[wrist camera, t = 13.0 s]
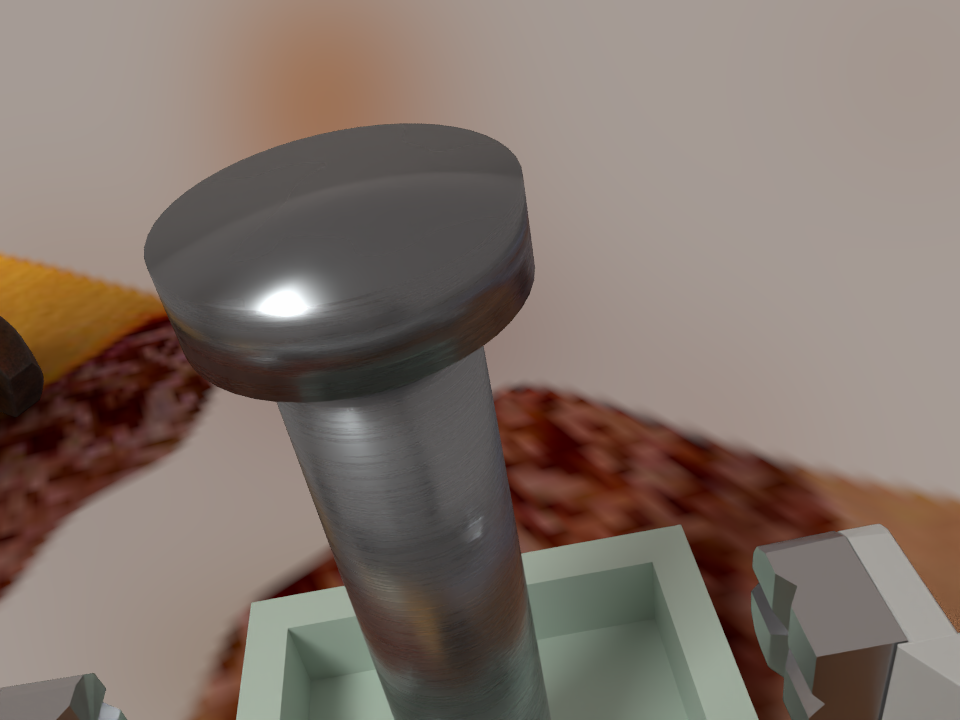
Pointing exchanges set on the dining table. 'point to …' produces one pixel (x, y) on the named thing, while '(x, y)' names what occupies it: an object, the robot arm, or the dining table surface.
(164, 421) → the dining table surface
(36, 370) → the bolt
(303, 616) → the tray
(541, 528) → the dining table surface
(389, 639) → the pin
